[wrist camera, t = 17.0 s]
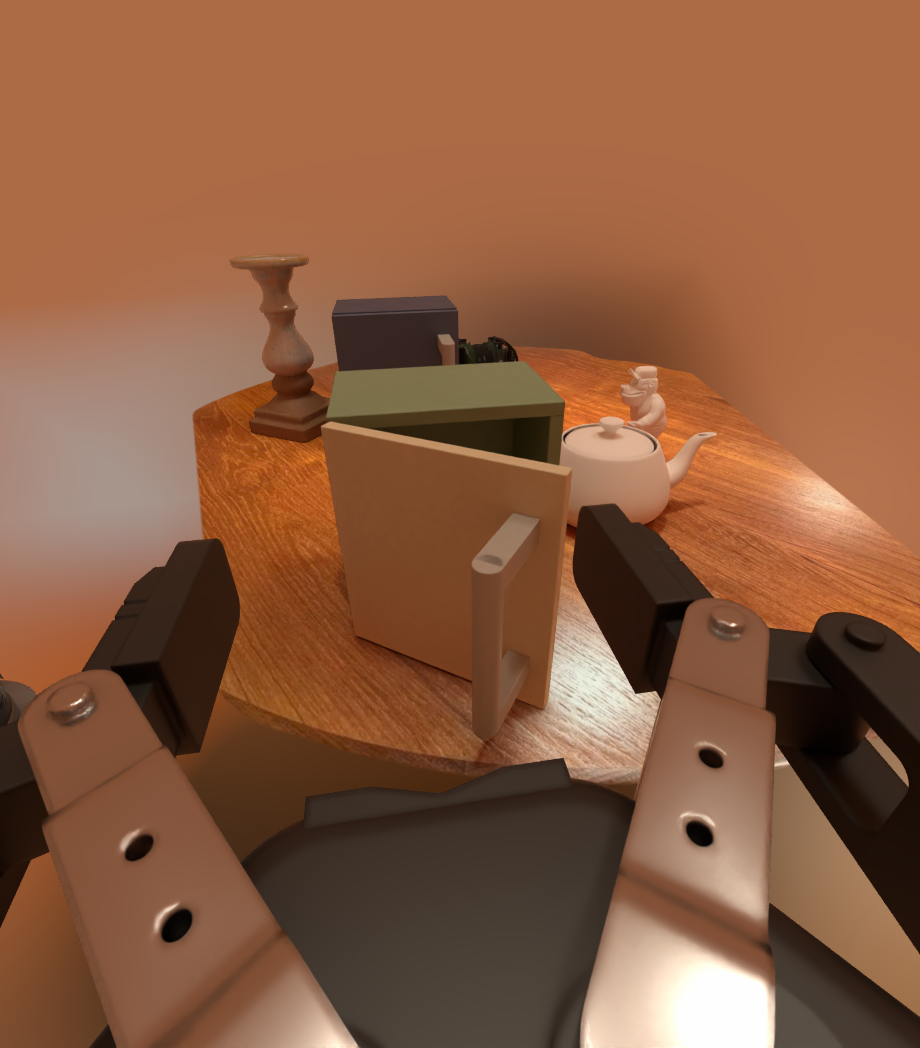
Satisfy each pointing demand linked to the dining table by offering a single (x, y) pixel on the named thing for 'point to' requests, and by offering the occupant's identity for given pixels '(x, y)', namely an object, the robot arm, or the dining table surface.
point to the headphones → (486, 352)
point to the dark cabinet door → (396, 339)
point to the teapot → (622, 468)
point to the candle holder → (285, 354)
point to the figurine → (645, 401)
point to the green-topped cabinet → (456, 407)
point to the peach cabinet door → (453, 559)
